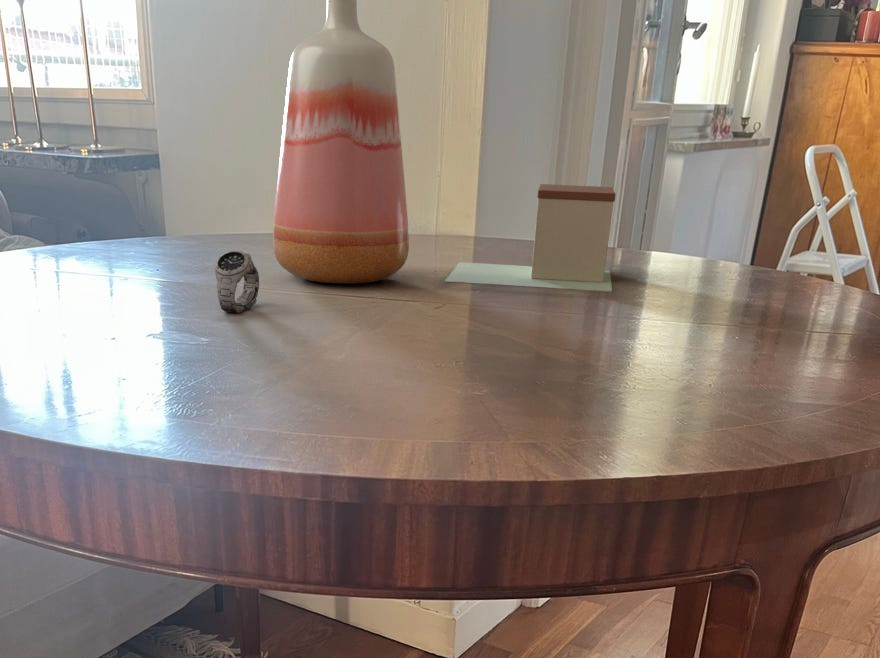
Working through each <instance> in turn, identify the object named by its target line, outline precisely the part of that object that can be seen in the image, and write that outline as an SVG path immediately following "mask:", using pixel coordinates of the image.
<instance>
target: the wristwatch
mask: <svg viewBox="0 0 880 658" xmlns="http://www.w3.org/2000/svg"><path fill="white" fill-rule="evenodd" d="M214 274H215V278H216V290H217V300H218V303H219V307H220V309H221V310H222V311H223V312H225V313H232V314H233V313H236V314H240V313H242V312H244V311H248V310H250V309H252V307H254V305H255V304H257V297H258V294H259V290H260V289H259V288H260V275H259V271H258V269H257V267H256V266H255V264H254V262H253V260H252V255H251V254H250V253H248V252H244V251H241V250H229V251H226V252H224V253H223V254H220V256H218V257H217V259H216V260H215V263H214ZM242 278H243V290H242V292H241V294H240V295H239V296H238V297H237V298H236V295H235V294H236V291H237V287H238V284H239V283H240V282H241V280H242Z"/></svg>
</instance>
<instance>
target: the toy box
mask: <svg viewBox="0 0 880 658" xmlns="http://www.w3.org/2000/svg"><path fill="white" fill-rule="evenodd" d="M615 201H616V192H615V189H614V188H613V187H612V186H595V185H594V186H592V185H570V184H569V185H568V184H549V183H548V184H546V183H540V184H539V186H538V189H537V206H536V207H537V208H536V217H535V219H536V220H535V228H534V229H535V230H534V241H533V250H532V262H531V266H532V272H531V278H532V279H548V280H567V281H585V282H603V281H604V273H605V270H606V263H607V256H608V249H609V241H610V233H611V225H612V217H613V209H614V202H615Z"/></svg>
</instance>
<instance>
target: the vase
mask: <svg viewBox="0 0 880 658" xmlns="http://www.w3.org/2000/svg"><path fill="white" fill-rule="evenodd" d="M286 86H287V87H286V95H285V106H284V114H283V125H282V134H281V141H280V142H281V143H280V153H279V162H278V173H277V181H276V182H277V183H276V192H275V193H276V194H275V202H274V211H273V222H272V224H273V226H272V249H273V254H274V257H275V260H276V261H277V262H278V264H279V265H280V267H282V268H283V269H284V270H285V271H286V272H288V273H290V274H291V275H293V276H295V277H298V278H300V279H303V280H306V281H311V282H317V283H323V284H324V283H326V284H343V285H344V284H346V285H347V284H348V285H349V284H350V285H351V284H366V283H373V282H379V281H383V280H385V279H387V278H389V277H391V276H393V275H395V274H396V273H397V272H399V271H400V270H401V269H402V268H403V266H404V265H405V264H406V262H407V259H408V256H409V249H410V237H409V236H410V235H409V218H408V205H407V193H406V181H405V172H404V171H405V169H404V160H403V148H402V136H401V124H400V113H399V112H400V111H399V103H398V90H397V89H398V88H397V77H396V69H395V62H394V58H393V56H392V53H391V52H390V50H389V48H387V47H386V46H385V45H383V44H382V43H380V41H378V40H377V39H375V38H373V37H371V36H369V35H367V34H366V33H365V32H364V31H363V30H362V29H361V27H360V24H359V21H358V0H326V18H325V23H324V26H323V28H322V29H321V30H320V31H319V32H317V33H315V34H313V35H311V36H310V37H307V38H305V39H304V40H302V41H301V42H300V43H298V44H297V45H296V46H295V47H294V49H293V51H292V54H291V56H290V61H289V67H288V76H287V84H286Z"/></svg>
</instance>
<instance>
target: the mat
mask: <svg viewBox="0 0 880 658" xmlns="http://www.w3.org/2000/svg"><path fill="white" fill-rule="evenodd" d="M531 272H532V265H517V264H516V265H515V264H498V263H481V262H480V263H479V262H466V261H465V262H463V261H462V262H461V261H459V262H458V264H457V265H456V266H455V267H454V268H453V270H452V271H451V272H450V274H449V275H448V276H447V277H446V279H445V280H444V281H443V282H444V283H458V284H473V285H490V286H491V285H492V286H506V287H507V286H508V287H509V286H510V287H526V288H542V289H560V290H573V291H574V290H577V291H593V292H606V293H607V292H609V293H612V292H613V287H612V276H611V270H606V269H605V273H604V281H603V282H585V281H567V280H548V279H532V278H531Z"/></svg>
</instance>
